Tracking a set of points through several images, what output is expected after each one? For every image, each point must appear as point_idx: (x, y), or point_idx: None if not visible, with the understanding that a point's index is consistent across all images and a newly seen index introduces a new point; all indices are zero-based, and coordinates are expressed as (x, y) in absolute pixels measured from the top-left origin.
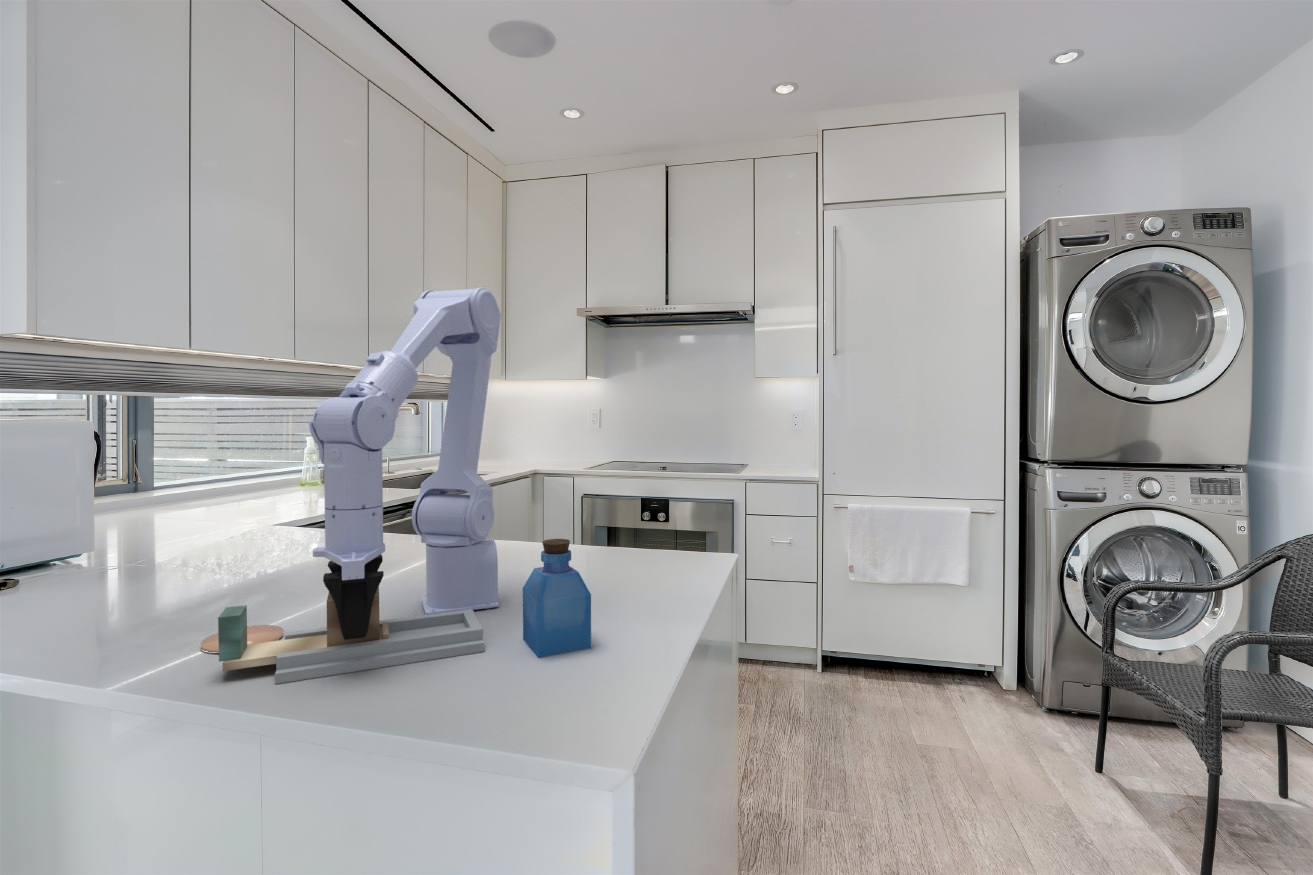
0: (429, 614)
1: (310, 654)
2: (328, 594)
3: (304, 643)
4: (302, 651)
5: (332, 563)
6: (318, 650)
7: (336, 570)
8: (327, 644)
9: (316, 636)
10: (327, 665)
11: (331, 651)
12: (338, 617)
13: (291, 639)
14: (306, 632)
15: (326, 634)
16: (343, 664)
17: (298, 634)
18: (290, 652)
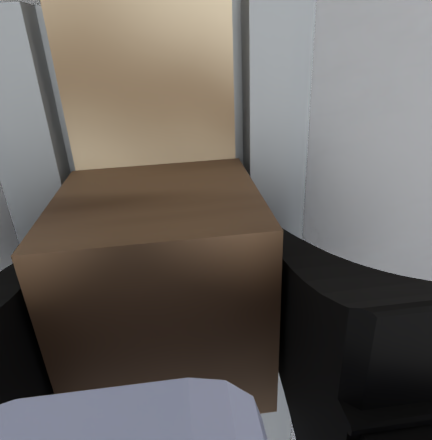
0: (278, 401)
1: (4, 127)
2: (170, 241)
3: (158, 83)
4: (30, 96)
5: (384, 340)
6: (30, 151)
7: (328, 330)
8: (70, 176)
9: (225, 115)
10: (1, 172)
11: (21, 192)
12: (7, 268)
13: (223, 24)
14: (259, 76)
15: (233, 147)
16: (10, 213)
17: (248, 48)
18: (27, 51)
